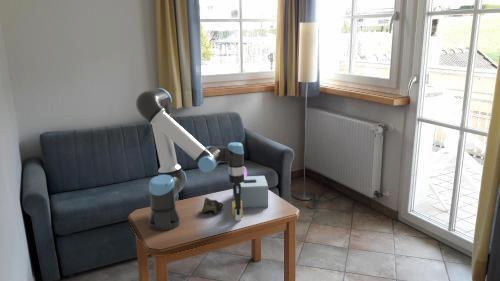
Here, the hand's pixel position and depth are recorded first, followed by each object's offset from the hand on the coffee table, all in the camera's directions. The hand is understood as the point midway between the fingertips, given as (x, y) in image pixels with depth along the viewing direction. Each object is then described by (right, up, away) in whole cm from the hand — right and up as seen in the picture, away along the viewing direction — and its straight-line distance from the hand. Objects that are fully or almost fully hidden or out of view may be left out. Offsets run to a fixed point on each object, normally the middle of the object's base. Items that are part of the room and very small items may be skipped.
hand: (237, 216), depth 208 cm
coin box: (+6, +4, +18) cm, 20 cm away
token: (0, 0, 0) cm, 0 cm away
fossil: (-13, +1, +7) cm, 15 cm away
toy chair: (+5, +8, +32) cm, 33 cm away
